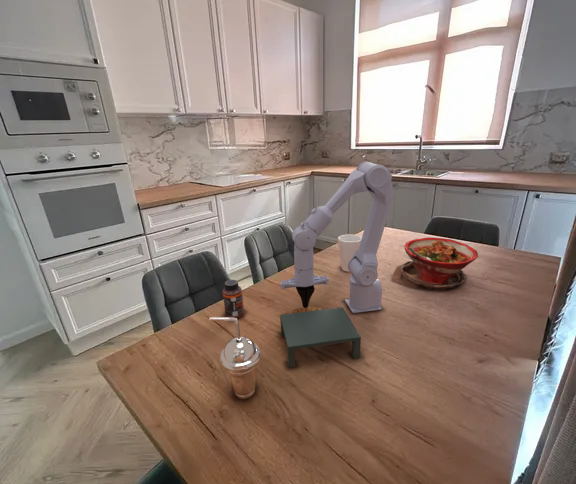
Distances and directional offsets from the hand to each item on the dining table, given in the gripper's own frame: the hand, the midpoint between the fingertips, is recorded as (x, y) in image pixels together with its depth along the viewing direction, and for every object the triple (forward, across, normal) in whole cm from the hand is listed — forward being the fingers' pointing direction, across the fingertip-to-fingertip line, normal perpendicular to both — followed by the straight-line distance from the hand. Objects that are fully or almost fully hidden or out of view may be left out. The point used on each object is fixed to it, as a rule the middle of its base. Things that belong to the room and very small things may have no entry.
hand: (305, 306), depth 97 cm
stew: (+2, -50, -11) cm, 51 cm away
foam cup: (+2, -24, -28) cm, 37 cm away
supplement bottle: (+2, +22, -4) cm, 22 cm away
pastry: (+2, 0, +5) cm, 5 cm away
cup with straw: (+2, +20, +28) cm, 35 cm away
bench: (+2, 0, +16) cm, 17 cm away
